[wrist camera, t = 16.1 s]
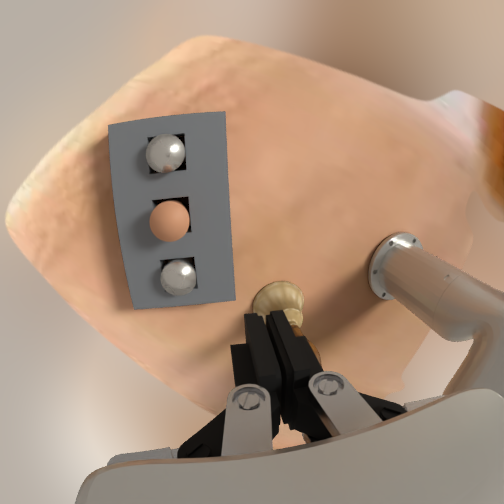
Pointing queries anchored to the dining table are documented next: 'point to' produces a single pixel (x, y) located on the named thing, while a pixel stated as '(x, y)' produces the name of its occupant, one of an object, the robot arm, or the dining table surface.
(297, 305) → the hand bell
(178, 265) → the silver rounded piece
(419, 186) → the dining table surface
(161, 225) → the peach grooved knob
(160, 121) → the panel
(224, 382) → the dining table surface
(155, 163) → the ball
